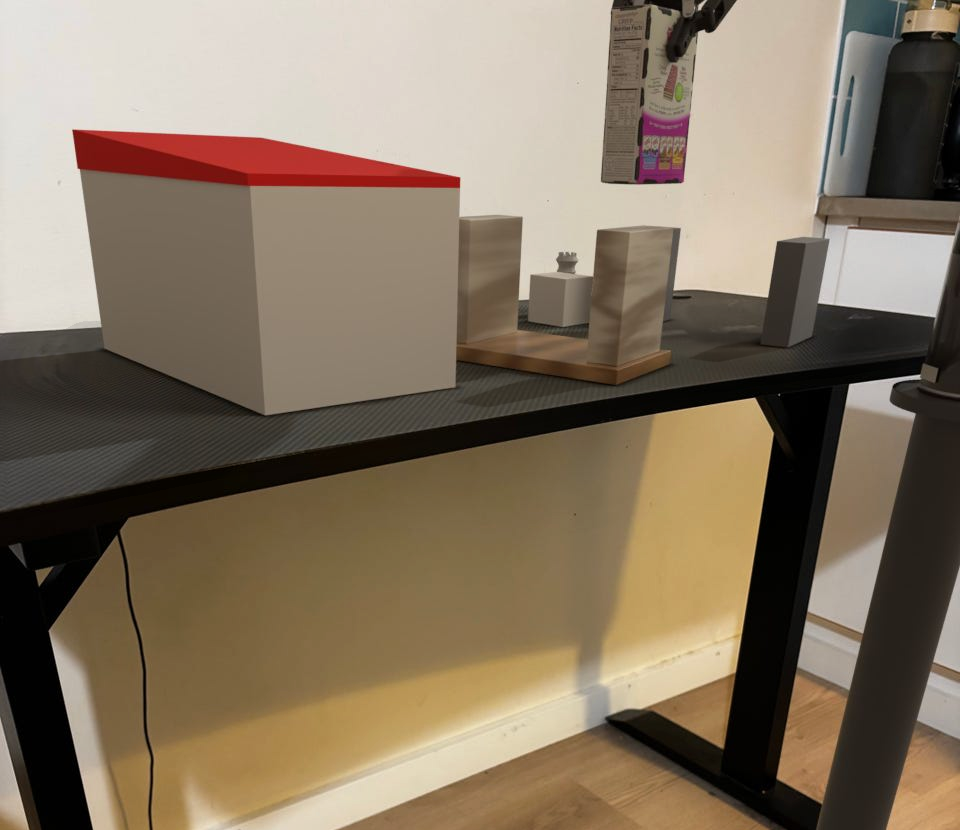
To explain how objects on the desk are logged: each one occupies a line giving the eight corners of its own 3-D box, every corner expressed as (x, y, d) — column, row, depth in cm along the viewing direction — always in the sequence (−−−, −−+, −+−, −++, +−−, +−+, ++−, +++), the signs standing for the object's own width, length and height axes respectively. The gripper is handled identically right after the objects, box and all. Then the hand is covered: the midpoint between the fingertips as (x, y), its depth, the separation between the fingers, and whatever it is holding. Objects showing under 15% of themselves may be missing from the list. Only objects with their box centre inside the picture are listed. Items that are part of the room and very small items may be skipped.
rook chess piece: (585, 313, 139) (589, 253, 136) (560, 314, 137) (564, 254, 133) (566, 308, 143) (570, 250, 139) (542, 310, 140) (545, 251, 137)
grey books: (811, 336, 127) (829, 238, 122) (788, 347, 119) (806, 243, 113) (647, 316, 138) (657, 226, 133) (614, 325, 130) (623, 229, 124)
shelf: (669, 364, 107) (686, 227, 100) (616, 385, 96) (630, 233, 90) (492, 339, 117) (497, 213, 111) (426, 355, 106) (427, 217, 100)
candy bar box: (646, 182, 113) (661, 17, 106) (684, 184, 110) (703, 15, 103) (596, 183, 105) (609, 4, 98) (636, 185, 102) (653, 1, 95)
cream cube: (562, 327, 127) (565, 279, 125) (527, 321, 131) (530, 274, 128) (589, 322, 131) (593, 276, 129) (555, 317, 135) (557, 271, 132)
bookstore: (272, 332, 116) (260, 137, 107) (455, 387, 93) (461, 143, 83) (101, 348, 104) (71, 129, 94) (263, 415, 80) (244, 133, 71)
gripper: (633, -92, 105) (574, 25, 101) (763, -105, 98) (704, 20, 94) (648, -26, 111) (593, 87, 107) (770, -34, 104) (716, 86, 101)
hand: (645, 55), depth 101 cm, fingers closed on candy bar box, 5 cm apart
